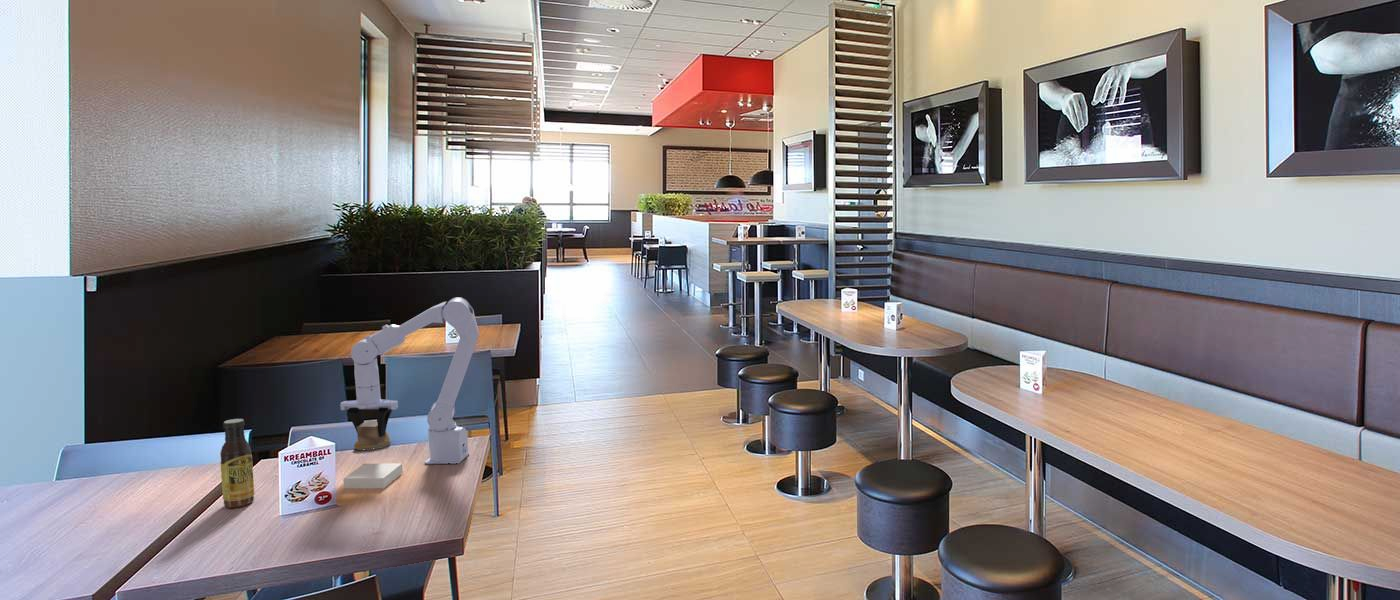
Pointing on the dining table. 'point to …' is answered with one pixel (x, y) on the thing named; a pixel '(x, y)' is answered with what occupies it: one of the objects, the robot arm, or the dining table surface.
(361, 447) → the pastry
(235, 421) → the sauce bottle
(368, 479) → the base block
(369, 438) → the walnut block
